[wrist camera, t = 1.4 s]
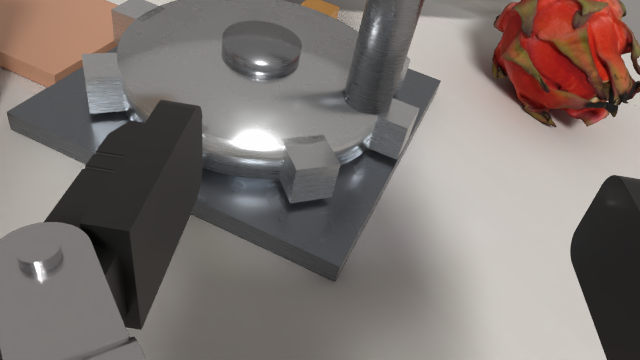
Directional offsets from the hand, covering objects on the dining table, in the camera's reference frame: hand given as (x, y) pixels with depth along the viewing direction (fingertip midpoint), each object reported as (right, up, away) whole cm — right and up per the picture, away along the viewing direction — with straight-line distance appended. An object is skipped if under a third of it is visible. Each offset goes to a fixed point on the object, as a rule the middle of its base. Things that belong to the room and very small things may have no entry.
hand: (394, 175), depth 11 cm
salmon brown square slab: (-17, +8, +21) cm, 29 cm away
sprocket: (-5, +5, +19) cm, 20 cm away
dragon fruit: (+14, +5, +26) cm, 30 cm away
